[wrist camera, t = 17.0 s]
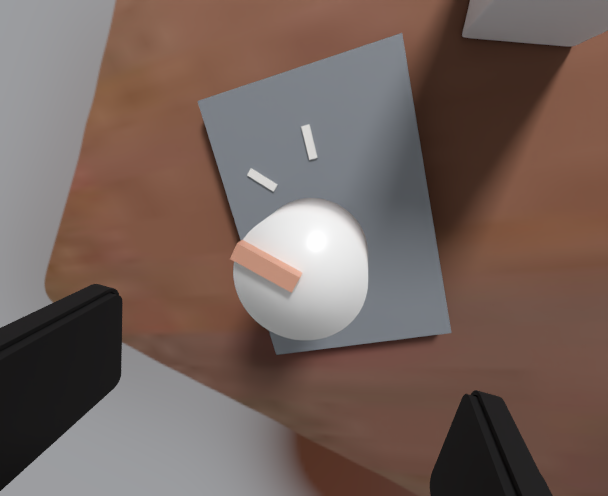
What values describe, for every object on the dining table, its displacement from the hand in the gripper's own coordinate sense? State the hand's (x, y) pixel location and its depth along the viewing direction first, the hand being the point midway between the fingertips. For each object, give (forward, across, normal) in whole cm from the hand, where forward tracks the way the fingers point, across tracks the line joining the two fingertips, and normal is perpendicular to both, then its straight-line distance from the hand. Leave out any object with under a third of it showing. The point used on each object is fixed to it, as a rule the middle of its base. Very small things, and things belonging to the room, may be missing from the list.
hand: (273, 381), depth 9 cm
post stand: (+20, +1, 0) cm, 21 cm away
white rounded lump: (+10, +1, 0) cm, 10 cm away
